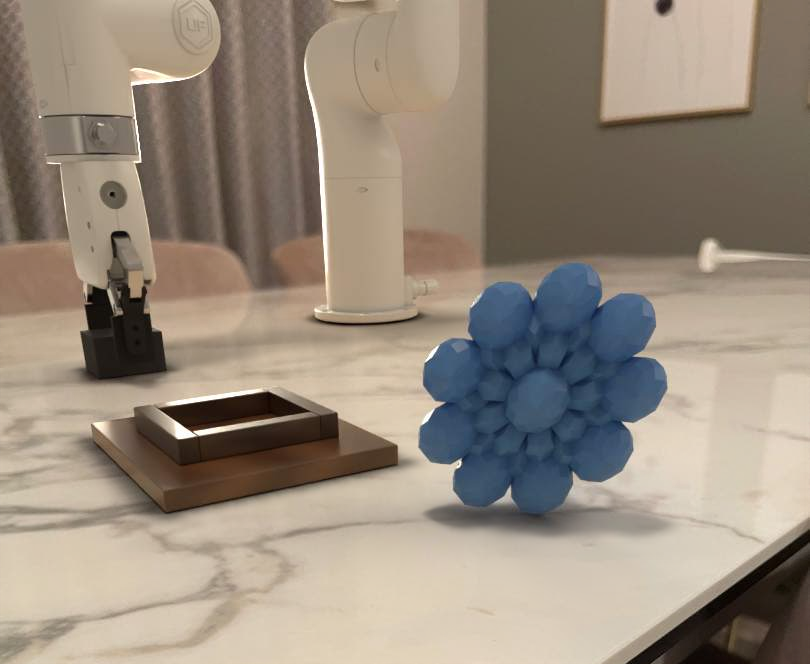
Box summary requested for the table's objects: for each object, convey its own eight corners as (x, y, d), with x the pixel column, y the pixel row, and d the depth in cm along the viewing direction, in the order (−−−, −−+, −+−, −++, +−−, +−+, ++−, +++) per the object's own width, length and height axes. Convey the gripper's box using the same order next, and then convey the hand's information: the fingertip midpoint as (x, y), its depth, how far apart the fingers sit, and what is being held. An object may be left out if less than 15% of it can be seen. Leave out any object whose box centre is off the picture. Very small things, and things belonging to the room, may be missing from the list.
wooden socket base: (286, 409, 63) (283, 372, 62) (398, 464, 50) (397, 419, 49) (93, 440, 56) (86, 400, 55) (166, 513, 43) (159, 463, 42)
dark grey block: (151, 361, 80) (145, 324, 79) (167, 370, 77) (161, 331, 75) (86, 369, 78) (79, 330, 76) (99, 379, 74) (92, 338, 72)
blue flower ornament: (643, 487, 45) (666, 253, 41) (660, 536, 39) (689, 267, 35) (428, 481, 47) (426, 255, 42) (412, 527, 41) (407, 268, 36)
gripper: (168, 139, 65) (194, 364, 71) (111, 148, 78) (137, 337, 85) (66, 138, 61) (103, 375, 68) (25, 148, 75) (59, 345, 81)
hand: (122, 353), depth 76 cm, fingers open, 9 cm apart
